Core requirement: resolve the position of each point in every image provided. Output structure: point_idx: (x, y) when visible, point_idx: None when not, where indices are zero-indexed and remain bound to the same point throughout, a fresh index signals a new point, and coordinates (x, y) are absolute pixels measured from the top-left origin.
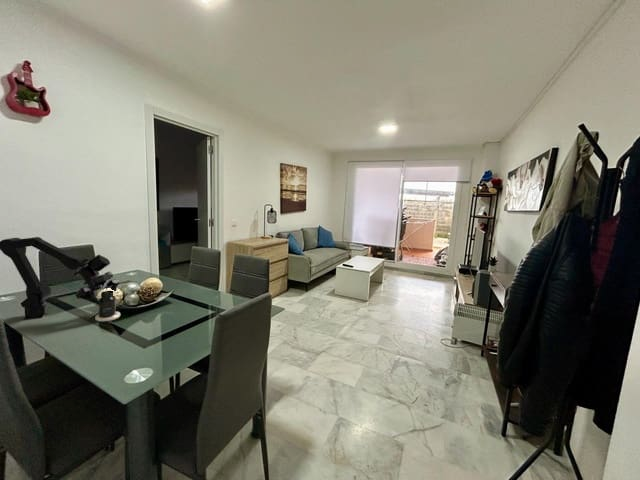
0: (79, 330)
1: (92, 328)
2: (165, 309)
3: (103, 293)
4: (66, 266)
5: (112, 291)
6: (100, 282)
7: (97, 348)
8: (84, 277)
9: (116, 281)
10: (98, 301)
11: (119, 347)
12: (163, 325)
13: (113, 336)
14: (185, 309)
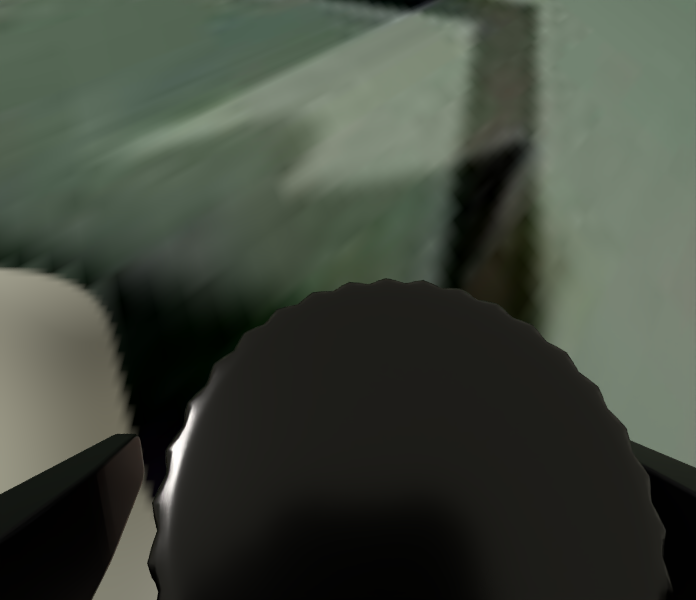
0: (691, 457)
1: None
2: (18, 167)
3: (614, 467)
4: None
5: (213, 389)
6: None
7: (679, 133)
8: None
9: None
10: (656, 453)
11: (600, 70)
12: (312, 48)
13: (559, 160)
14: (10, 64)
